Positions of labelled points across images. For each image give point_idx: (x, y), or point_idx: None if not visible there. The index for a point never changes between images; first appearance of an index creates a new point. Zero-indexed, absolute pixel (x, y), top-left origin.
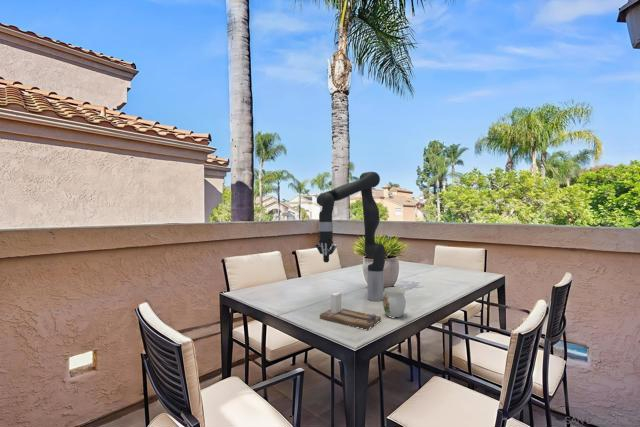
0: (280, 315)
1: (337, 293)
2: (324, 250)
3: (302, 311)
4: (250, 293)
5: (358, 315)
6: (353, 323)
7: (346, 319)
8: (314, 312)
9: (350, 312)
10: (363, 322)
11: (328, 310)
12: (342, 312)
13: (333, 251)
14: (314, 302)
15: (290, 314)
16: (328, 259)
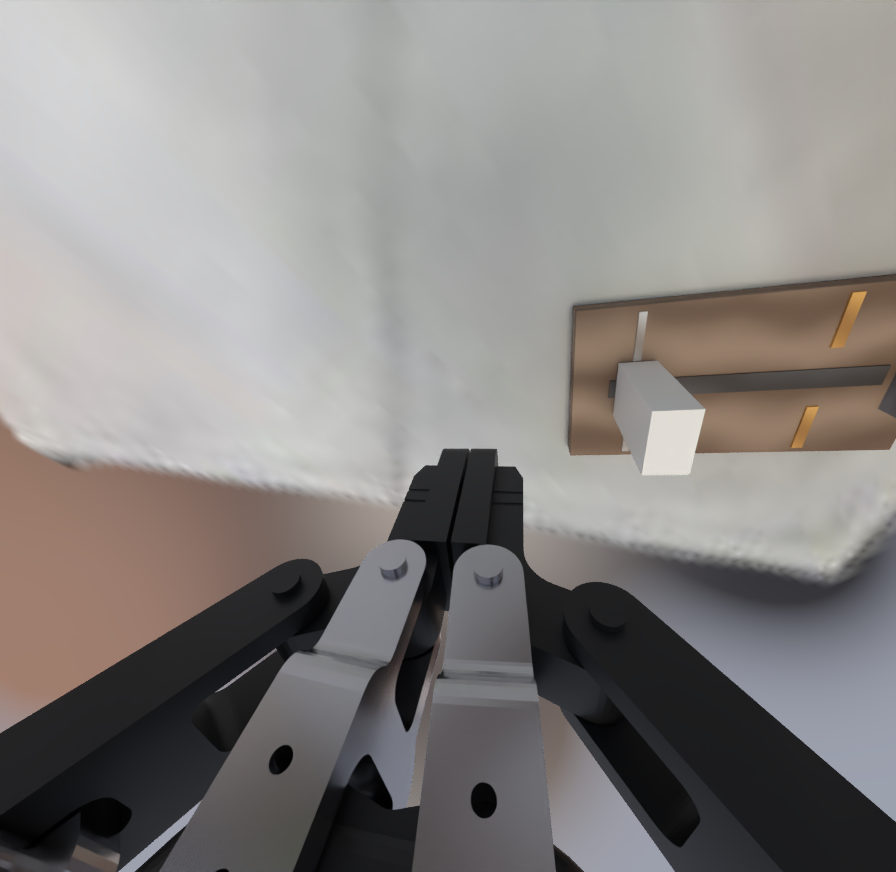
0: None
1: (679, 430)
2: (404, 757)
3: (437, 420)
4: (51, 379)
5: (794, 348)
6: (788, 449)
7: (736, 437)
8: (493, 398)
9: (722, 334)
10: (853, 422)
11: (576, 386)
12: (670, 365)
13: (757, 714)
14: (371, 263)
15: None
16: (517, 502)
